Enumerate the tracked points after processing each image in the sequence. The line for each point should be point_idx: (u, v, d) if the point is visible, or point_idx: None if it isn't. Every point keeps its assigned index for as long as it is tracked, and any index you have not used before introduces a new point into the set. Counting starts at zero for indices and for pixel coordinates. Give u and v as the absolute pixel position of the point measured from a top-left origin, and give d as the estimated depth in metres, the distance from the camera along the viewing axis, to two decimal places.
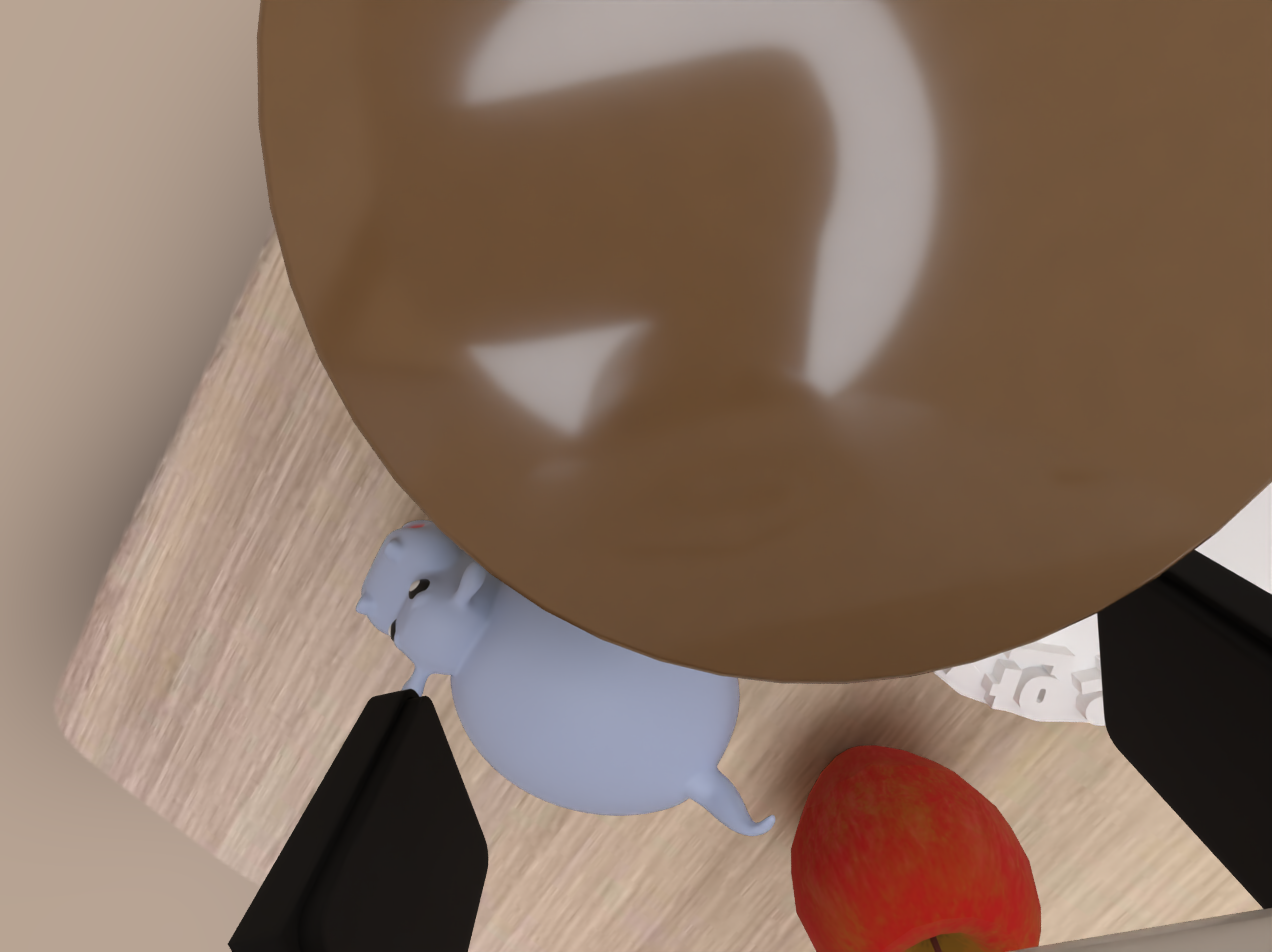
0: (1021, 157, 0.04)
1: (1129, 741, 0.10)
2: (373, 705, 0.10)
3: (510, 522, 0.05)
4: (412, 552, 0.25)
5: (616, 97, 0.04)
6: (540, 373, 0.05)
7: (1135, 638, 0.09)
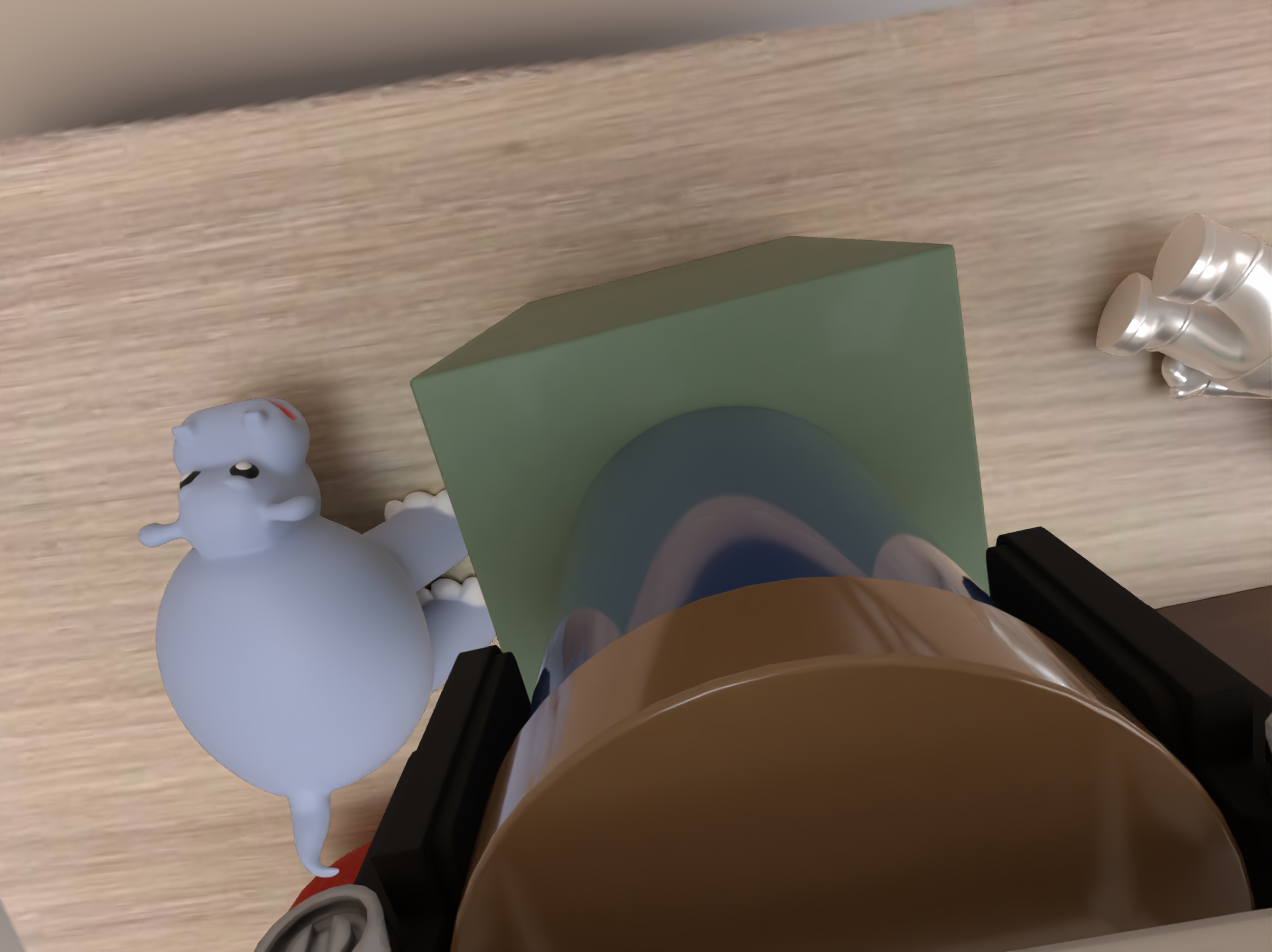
0: None
1: None
2: (463, 659, 0.11)
3: None
4: (267, 435, 0.24)
5: (783, 890, 0.06)
6: (599, 949, 0.06)
7: None
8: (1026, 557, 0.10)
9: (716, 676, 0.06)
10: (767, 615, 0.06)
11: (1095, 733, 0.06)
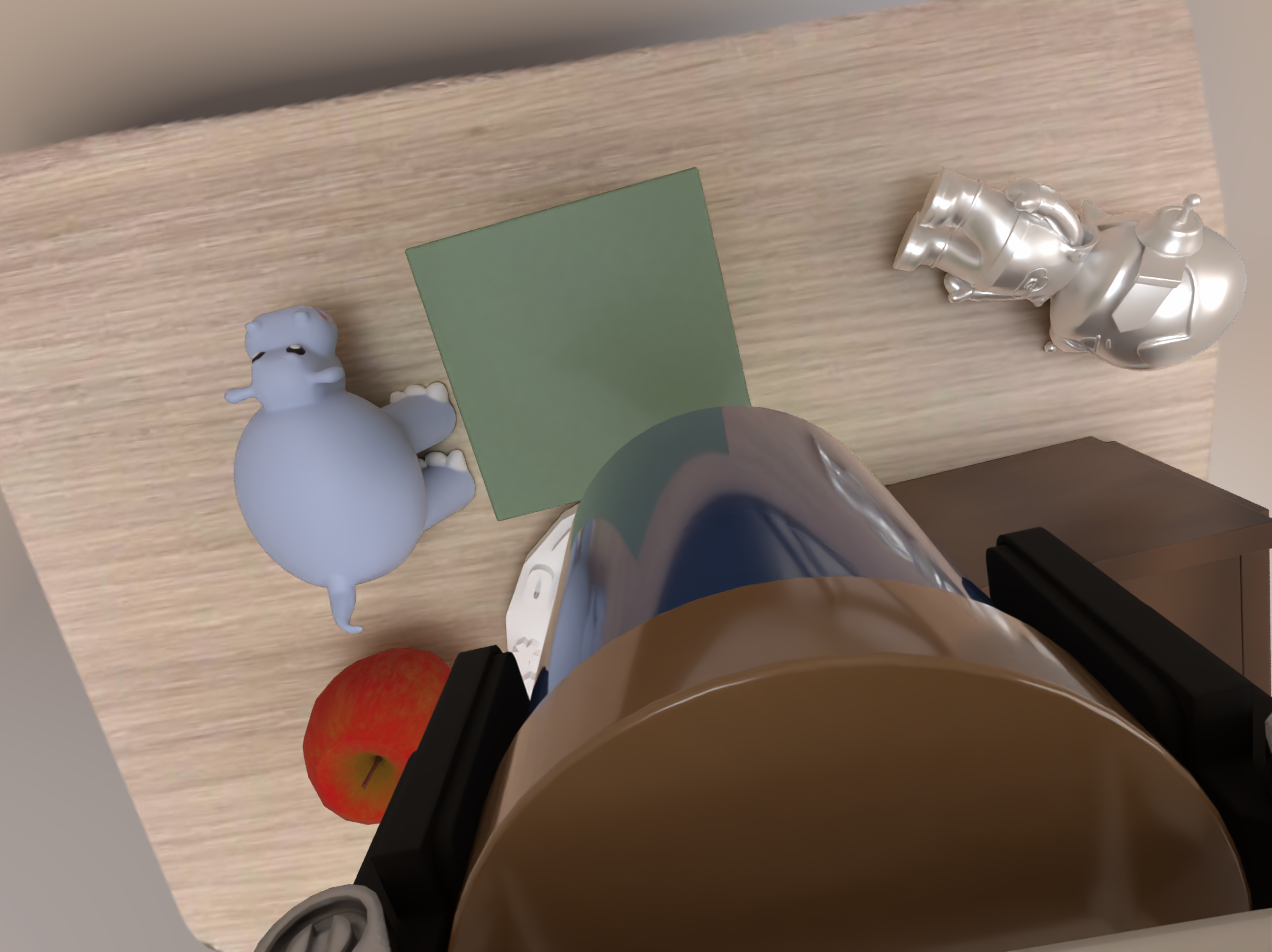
0: None
1: None
2: (463, 659, 0.11)
3: None
4: (310, 328, 0.35)
5: (781, 890, 0.06)
6: (597, 949, 0.06)
7: None
8: (1026, 557, 0.10)
9: (713, 676, 0.06)
10: (765, 615, 0.06)
11: (1093, 733, 0.06)
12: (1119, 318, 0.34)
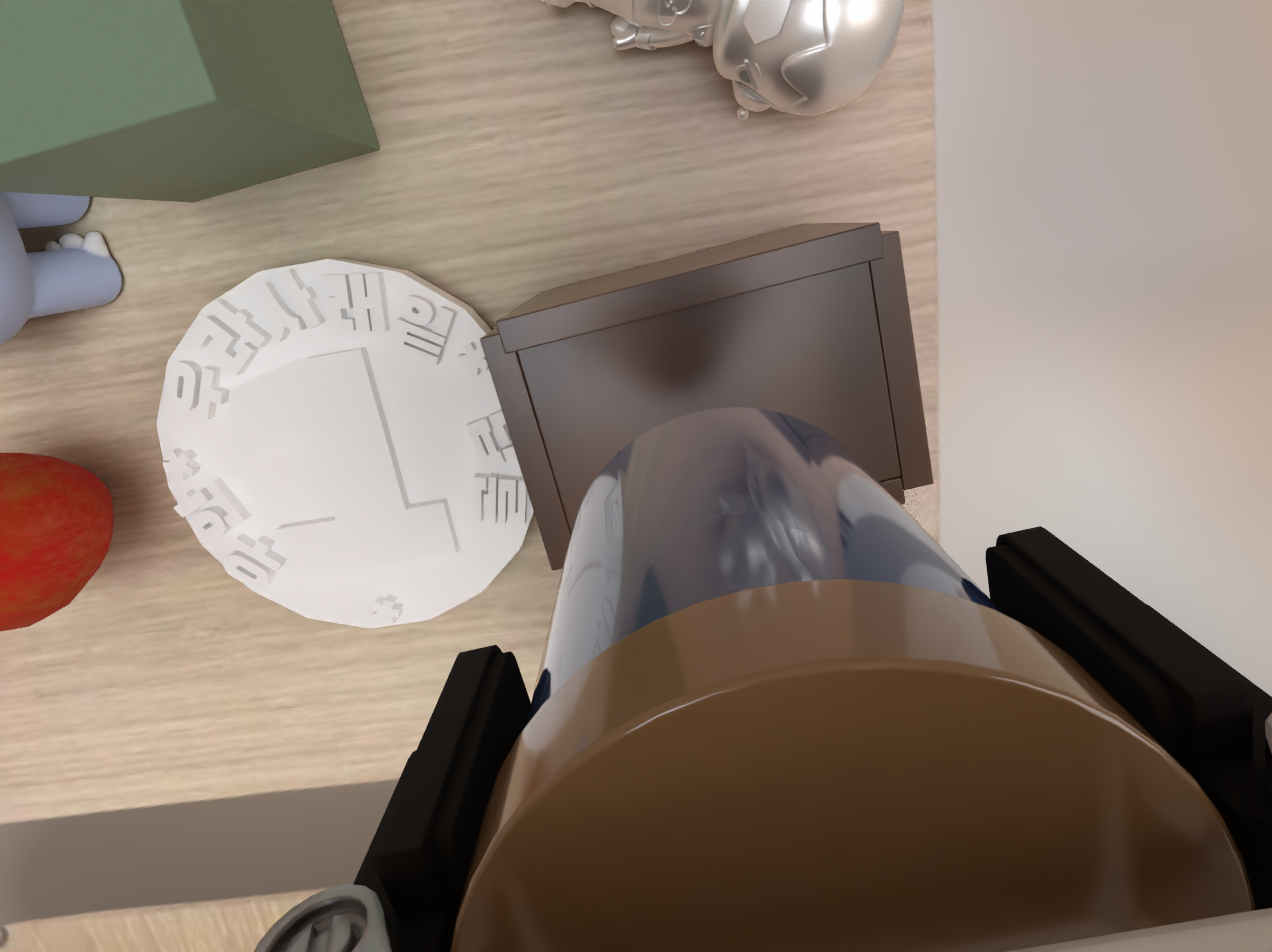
0: None
1: None
2: (463, 659, 0.11)
3: None
4: None
5: (784, 893, 0.06)
6: None
7: None
8: (1026, 557, 0.10)
9: (716, 680, 0.06)
10: (767, 618, 0.06)
11: (1095, 737, 0.06)
12: (751, 25, 0.29)
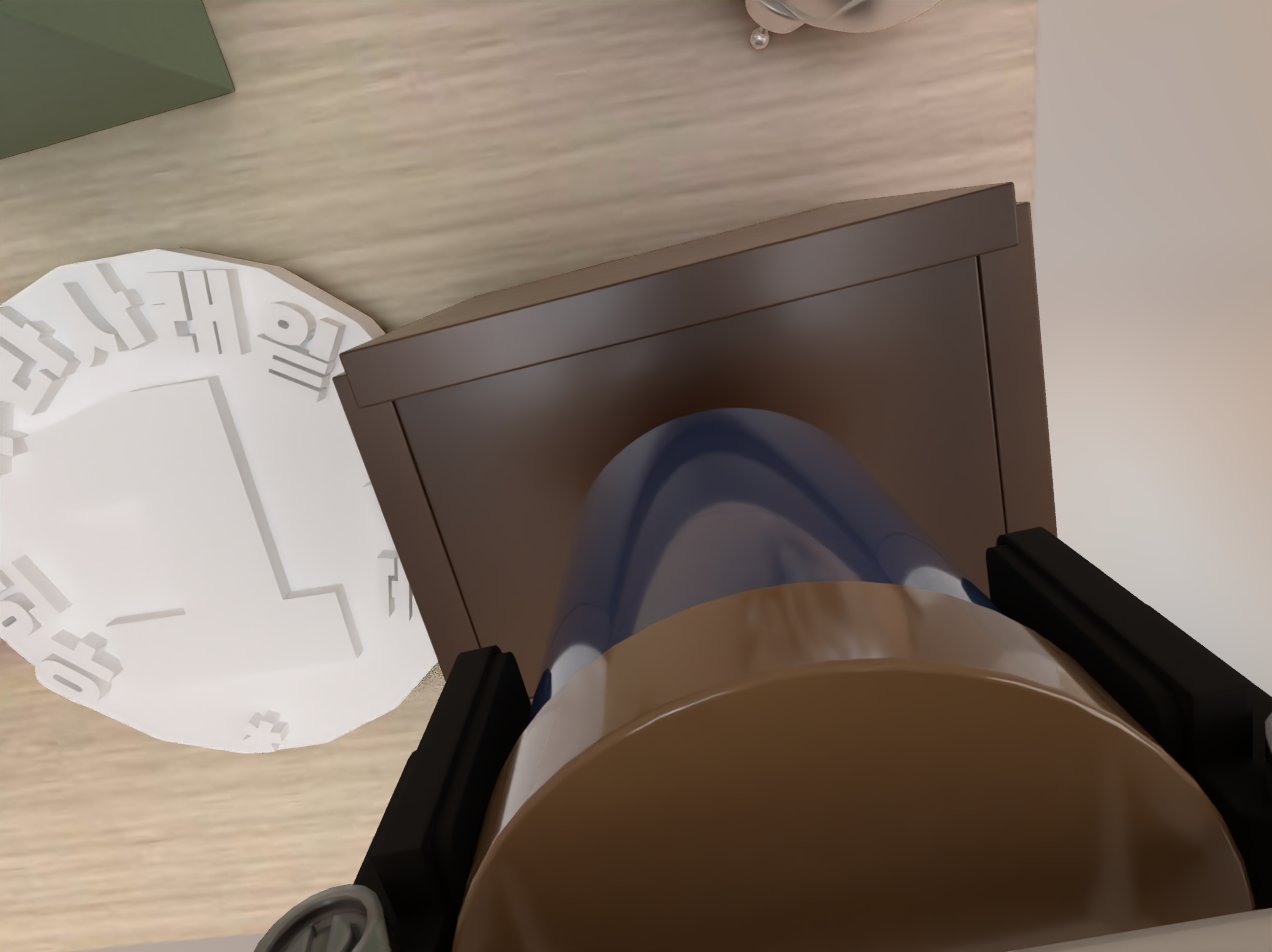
0: None
1: None
2: (463, 659, 0.11)
3: None
4: None
5: (785, 895, 0.06)
6: None
7: None
8: (1026, 557, 0.10)
9: (718, 682, 0.06)
10: (768, 619, 0.06)
11: (1096, 738, 0.06)
12: None
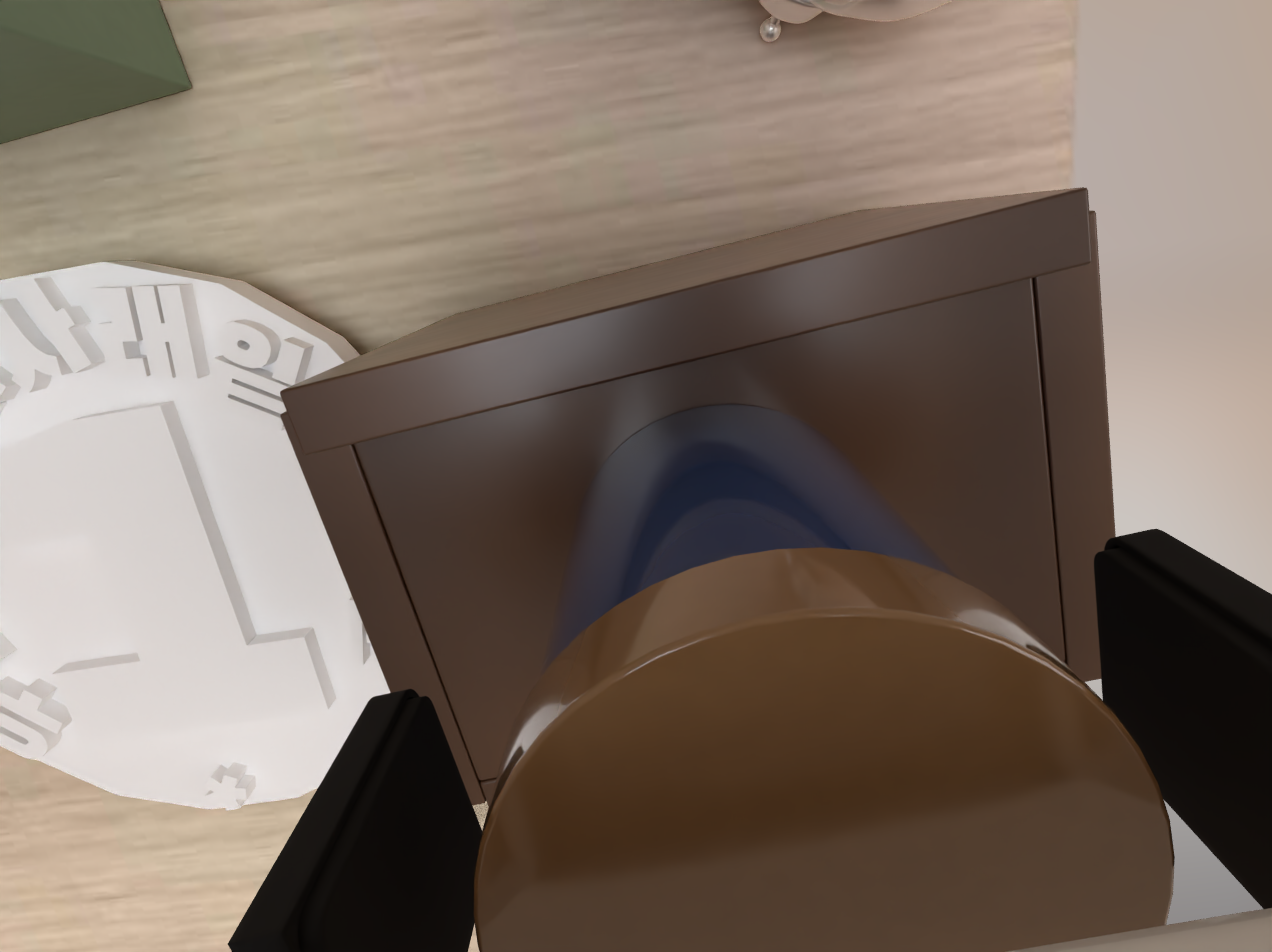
0: None
1: None
2: (373, 705, 0.10)
3: (512, 906, 0.07)
4: None
5: (763, 816, 0.07)
6: (604, 870, 0.07)
7: (1135, 638, 0.09)
8: (1148, 562, 0.09)
9: (704, 628, 0.07)
10: (749, 578, 0.07)
11: (1027, 675, 0.07)
12: None
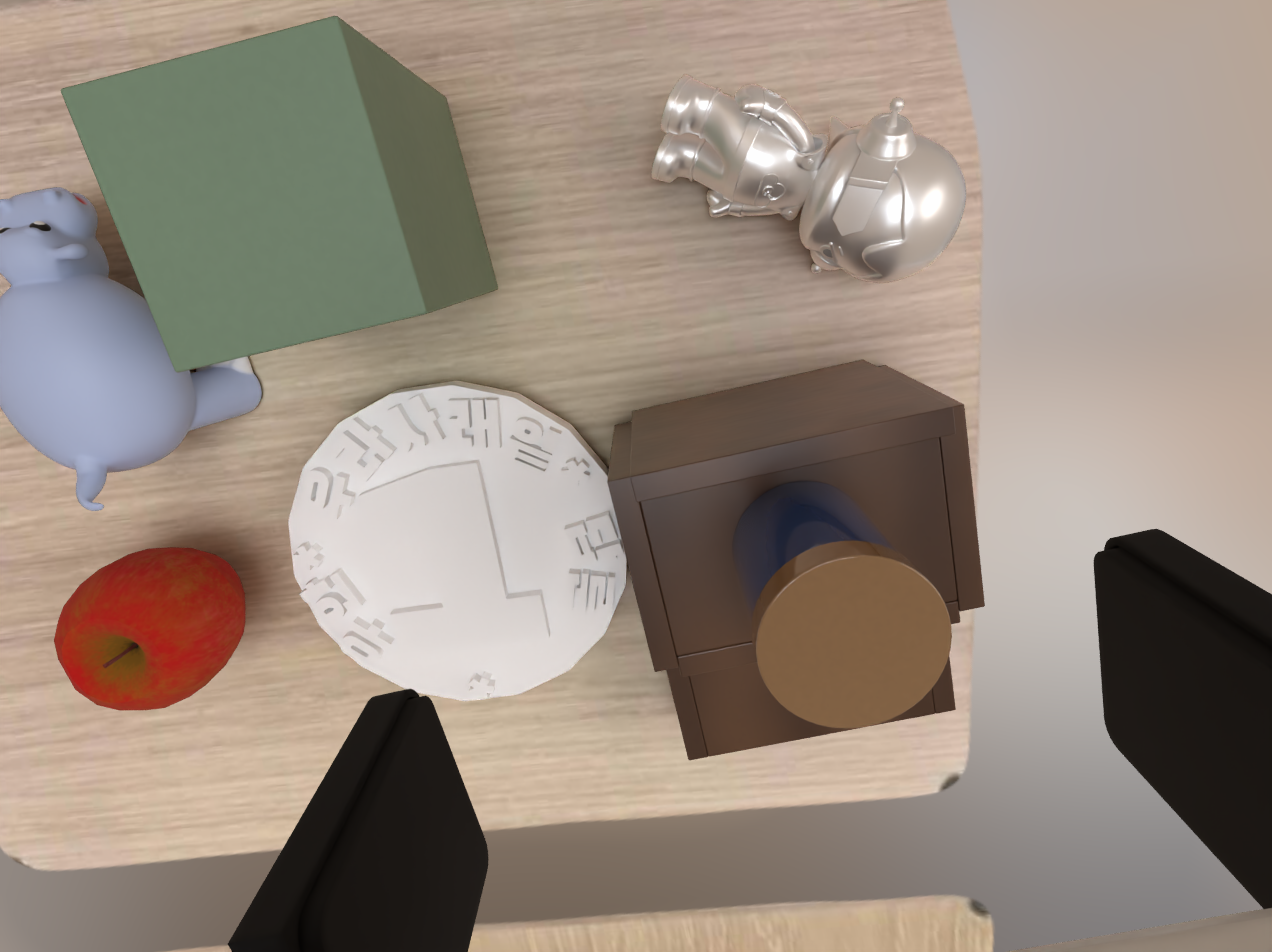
0: (869, 662, 0.27)
1: (1129, 741, 0.10)
2: (373, 705, 0.10)
3: (768, 639, 0.26)
4: (59, 208, 0.36)
5: (840, 612, 0.26)
6: (795, 628, 0.26)
7: (1135, 638, 0.09)
8: (1148, 562, 0.09)
9: (827, 559, 0.26)
10: (836, 548, 0.26)
11: (909, 573, 0.26)
12: (839, 221, 0.35)
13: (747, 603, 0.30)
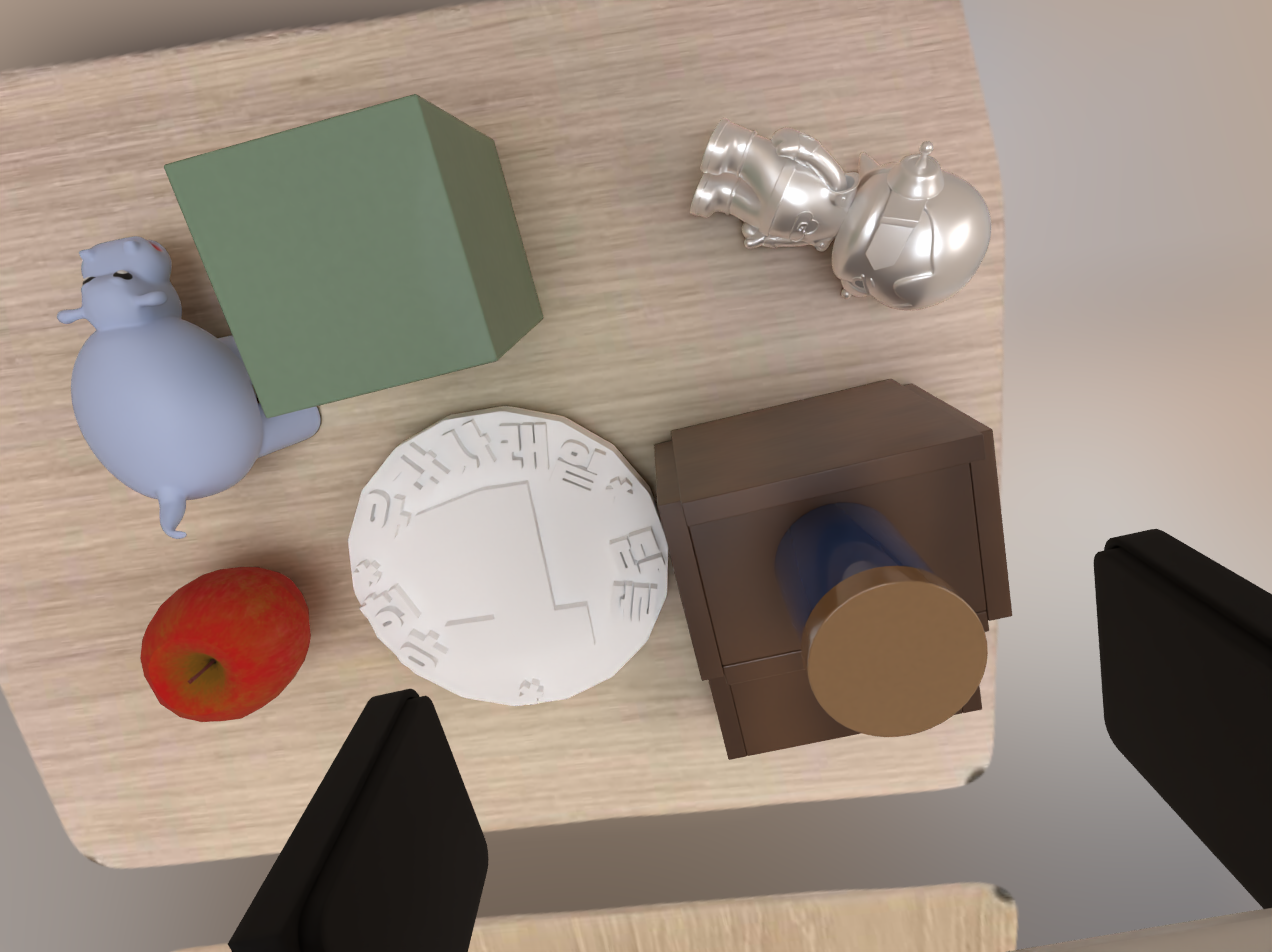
0: (912, 677, 0.29)
1: (1130, 741, 0.10)
2: (373, 705, 0.10)
3: (819, 657, 0.29)
4: (139, 256, 0.38)
5: (884, 632, 0.28)
6: (844, 647, 0.29)
7: (1135, 638, 0.09)
8: (1148, 563, 0.09)
9: (873, 585, 0.28)
10: (881, 574, 0.29)
11: (948, 596, 0.28)
12: (871, 256, 0.37)
13: (794, 621, 0.33)
